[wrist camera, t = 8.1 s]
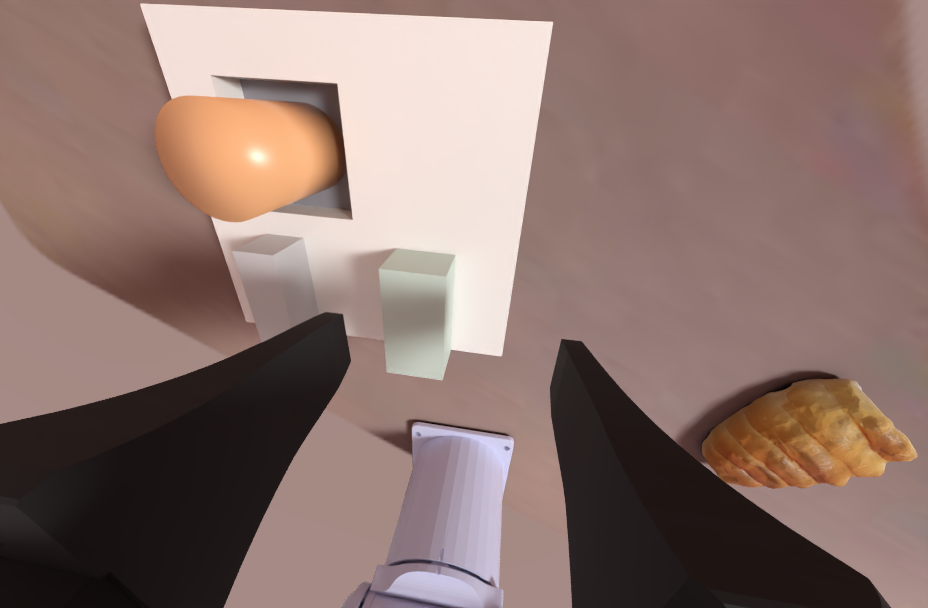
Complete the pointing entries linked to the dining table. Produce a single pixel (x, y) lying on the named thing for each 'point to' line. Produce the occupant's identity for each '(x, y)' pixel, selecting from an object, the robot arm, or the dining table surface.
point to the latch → (417, 312)
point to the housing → (376, 153)
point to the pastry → (806, 438)
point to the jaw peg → (247, 153)
